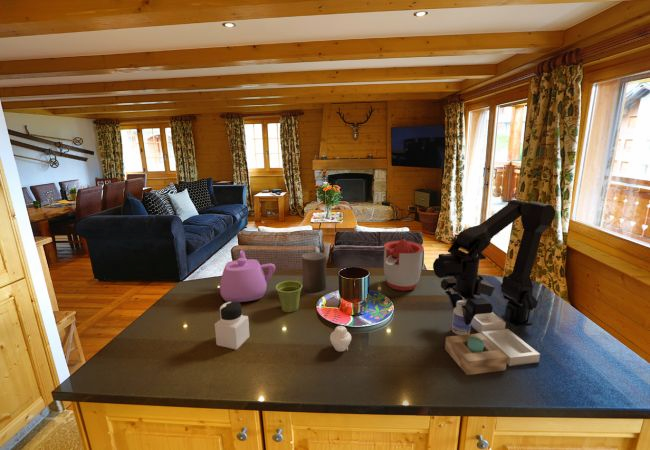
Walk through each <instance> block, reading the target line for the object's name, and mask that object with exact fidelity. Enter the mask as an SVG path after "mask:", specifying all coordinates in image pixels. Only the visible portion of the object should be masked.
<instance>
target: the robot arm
mask: <svg viewBox="0 0 650 450" xmlns="http://www.w3.org/2000/svg"><path fill="white" fill-rule="evenodd" d="M555 217H556V209H555V208H554V206H553V205H552V204H548V203H547V204H546V203H541V202H537V201H532V200H531V201H528V202H527V201H524V200H519V199H511V200H509V201H508V202H507V204H506V205H504V207H502V208H500V209H499V210H498V211H496V212H495V213H494V214H493V215H491V216H490V217H488V218H487V219H486V220H484V221H483V222H482V223H480V224H478V225H475V226H470V227H468V228H466V229H464V230H462V231H461V232H459V233H458V234H457V235H456V236H457V237H456V238H455V240H454V241H453V243H452V244H451V246H450V247H449V248H448V250H447V252H448V253H439V254H438V256H437V258H435V259H434V261H433V263H432V269H433V272H434V274H435V276H436V277H437V278H439V279H443V280H441V281H440V287H441V289H442V290H444V291H445V292H444V293H445V294H446V296H447V298H448V301H449V303H450V306H451V308H452V310H453V311H454V308H455V307H456V303H457V301H460V300H465V301H467V302H466V305H465V306H462V311H463V316H464V321H465V324H466V325H469V324H470V323H471V321H472V319H473V318H474V316H475V315H476V314H486V313H492V312H493V307H494V305H493V304H492V303H491V302H489V301H488V300H487V299H485V298H484V297H478V298H477V297H475V296H481V294H482V295H486V296H487V297H492V295H493V293H494V290H495V289H496V287H495V286H494V285H492V284H491V283H490V282H488V281H486V280H484V277H483V276H482V275H480V274H479V268H480V267H479V266H480V261H481V260H486V258H487V257H486V255H484V254H483V252H484V251H485V250H486V249H487V248H488V247H489V246H490V244H491V241H492V238H493V237H495V236H496V235H497V234H499V233H500V232H501V231H503V230H504V229H505V228H507V227H508V226H510V224H512V223H514V221H516V220H518V218H520V221H521V225H522V227H523V230H522V231H523V232H522V235H521V239H520V243H519V246H518V251H517V253H516V258H515V261H514V266H513V268H512V272H511V273H509V274H508V275H504V276H503V277H502V283H501V284H500V287H499V288H500V289H501V291H500V292H501V293H502V297H503V299H504V300H507V302H506V303H507V304H506V306H505V309H504V313H502V314H501V316H502V318H504V319H505V320H506V321H508V322H510V324H512V325H514V326H523V325H524V326H525V325H532V324H533V322H532V321H531V320H530V319H529V318H530V313H531V311H533V310H534V309H536V308H537V306H538V303H539V301H538V300H537V299H536V298H535V296H534V295H533V291H534V286H533V285H534V284H533V283H532V282H533V281H532V279H531V274H532V271H533V267H534V264H535V260H536V257H537V253H538V249H539V246H540V242H541V240H542V239H541V238H542V237H543V233H544V232H545V231H546V230H548V229H549V228H550V227H552V224H553V221H554V219H555ZM460 249H461V250H460ZM464 251H466V252H464ZM449 277H451V278H449ZM452 277H453V278H452ZM453 311H452V312H453Z"/></svg>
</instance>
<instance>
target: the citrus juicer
mask: <svg viewBox="0 0 650 450" xmlns="http://www.w3.org/2000/svg"><path fill="white" fill-rule="evenodd" d="M383 248H384V249H383V251H384V252H383V274H384V278H385V282H386V284H387V286H388V287H389V288H391V289H394V290H397V291H402V292H406V291H411V290H414V289H415V288H416V287H417V286H418V283H419V280H420V277H421V274H422V273H421V272H422V266H423V253H424V252H423V251H424V246H423V245H422V244H420V243H417V242H415V241H408V240H407V239H404V238H403V239H401V240H393V241H387V242H386V243H384V245H383Z"/></svg>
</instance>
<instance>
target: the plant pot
mask: <svg viewBox="0 0 650 450" xmlns="http://www.w3.org/2000/svg"><path fill="white" fill-rule="evenodd" d="M302 288H303V283H301V282H299V281H296V280H286V281H281V282H279V283H277V284H276V285H275V290H276V291H277V293H278V297H279V302H280V307H281V310H282V311H283V312H285V313H291V312H297V311H298V310H299V308H300V299H301V298H300V297H301V291H302Z"/></svg>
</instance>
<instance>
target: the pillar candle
mask: <svg viewBox="0 0 650 450" xmlns="http://www.w3.org/2000/svg"><path fill="white" fill-rule="evenodd" d="M301 258H302V259H301V265H302V267H301V268H302V269H301V272H302V274H301V275H302V288H303V290H304V291H305V292H306V291H307V292H311V293H318V292H322V291H325V290H326V289H327V255H326V254H325V253H323V252H319V251H317V252H316V251H312V252H311V251H310V252H306V253H303V254H301Z"/></svg>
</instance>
